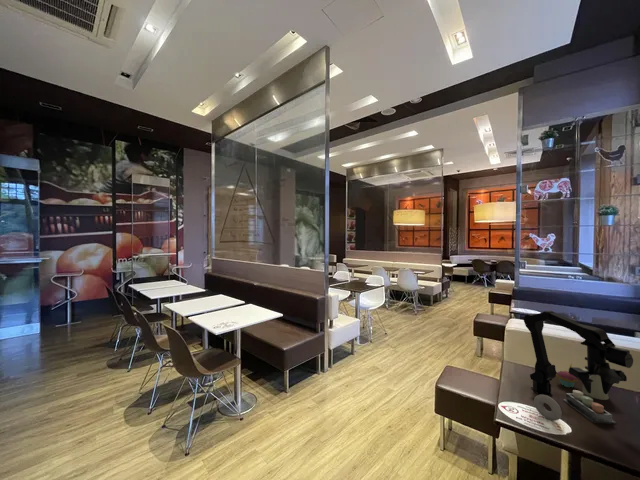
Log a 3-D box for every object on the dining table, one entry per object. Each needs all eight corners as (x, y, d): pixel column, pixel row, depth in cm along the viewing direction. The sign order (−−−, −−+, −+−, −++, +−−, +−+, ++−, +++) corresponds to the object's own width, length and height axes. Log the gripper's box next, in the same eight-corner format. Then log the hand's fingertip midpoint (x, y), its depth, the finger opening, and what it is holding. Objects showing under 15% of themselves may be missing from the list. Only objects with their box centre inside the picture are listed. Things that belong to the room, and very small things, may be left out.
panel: (592, 422, 113) (592, 413, 113) (563, 400, 128) (562, 393, 129) (616, 424, 112) (615, 415, 112) (583, 401, 127) (583, 394, 127)
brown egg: (597, 415, 114) (596, 407, 114) (589, 410, 117) (589, 402, 117) (606, 415, 113) (606, 407, 113) (598, 410, 117) (598, 402, 117)
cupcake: (572, 382, 145) (571, 360, 145) (582, 390, 136) (581, 367, 137) (553, 380, 147) (552, 358, 147) (561, 388, 139) (560, 365, 139)
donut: (532, 413, 120) (531, 390, 120) (536, 411, 121) (536, 389, 121) (559, 427, 110) (558, 403, 111) (564, 424, 112) (563, 401, 112)
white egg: (577, 401, 124) (577, 394, 124) (570, 397, 127) (570, 389, 127) (585, 402, 123) (585, 394, 123) (579, 397, 127) (578, 390, 127)
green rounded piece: (586, 408, 119) (586, 400, 119) (579, 403, 122) (579, 395, 122) (595, 408, 118) (595, 400, 118) (588, 403, 122) (588, 396, 122)
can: (614, 400, 128) (613, 375, 129) (595, 400, 129) (594, 375, 129) (595, 389, 138) (594, 366, 138) (577, 389, 138) (576, 366, 138)
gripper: (589, 365, 109) (590, 403, 108) (640, 367, 106) (641, 406, 106) (567, 354, 120) (568, 388, 119) (613, 355, 117) (614, 390, 117)
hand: (597, 393), depth 115 cm, fingers open, 6 cm apart
